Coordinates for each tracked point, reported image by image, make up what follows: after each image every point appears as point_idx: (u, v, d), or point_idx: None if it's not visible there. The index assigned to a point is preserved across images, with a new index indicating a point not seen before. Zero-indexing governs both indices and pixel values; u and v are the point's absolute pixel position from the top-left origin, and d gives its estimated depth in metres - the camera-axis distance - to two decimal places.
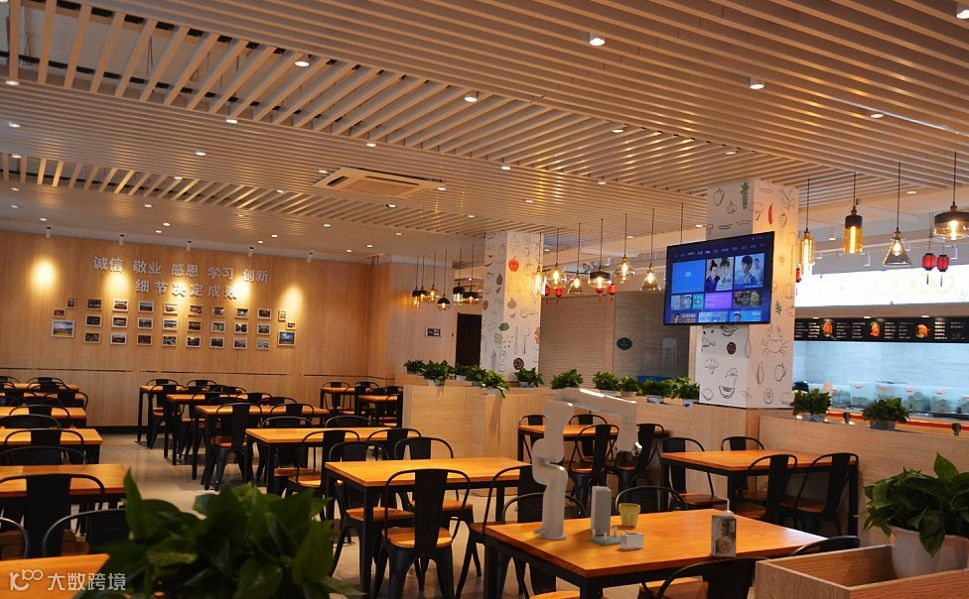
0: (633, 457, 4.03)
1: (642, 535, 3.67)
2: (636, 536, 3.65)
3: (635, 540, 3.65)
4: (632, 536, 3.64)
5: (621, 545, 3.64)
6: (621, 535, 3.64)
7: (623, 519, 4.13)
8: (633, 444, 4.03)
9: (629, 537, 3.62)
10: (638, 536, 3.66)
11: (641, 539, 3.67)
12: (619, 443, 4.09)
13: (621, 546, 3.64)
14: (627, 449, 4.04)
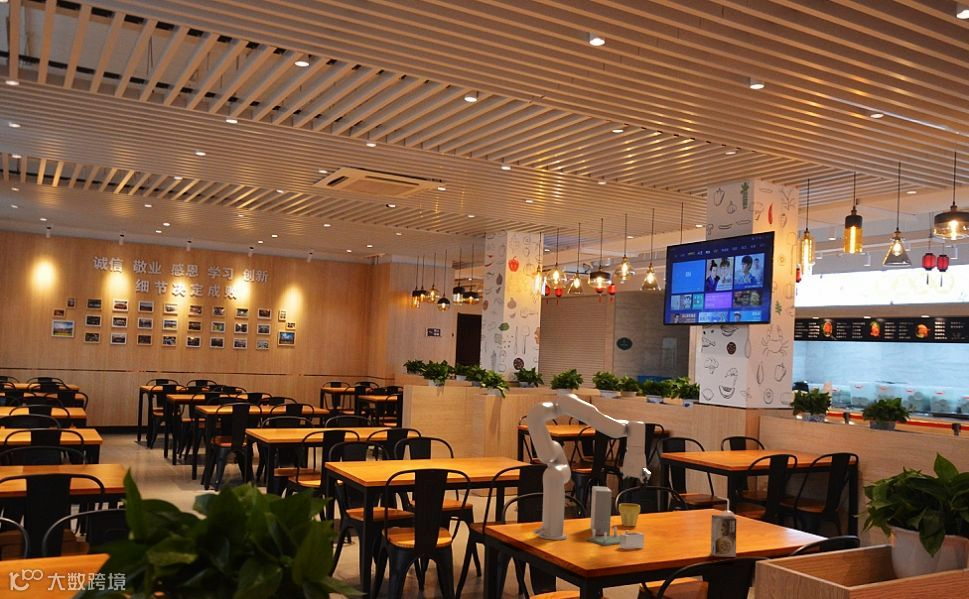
0: (641, 484, 3.63)
1: (642, 535, 3.67)
2: (636, 536, 3.65)
3: (635, 540, 3.65)
4: (632, 536, 3.64)
5: (621, 545, 3.64)
6: (621, 535, 3.65)
7: (623, 519, 4.13)
8: (641, 470, 3.63)
9: (628, 537, 3.63)
10: (638, 536, 3.65)
11: (642, 540, 3.66)
12: (625, 468, 3.69)
13: (621, 546, 3.64)
14: (634, 475, 3.64)
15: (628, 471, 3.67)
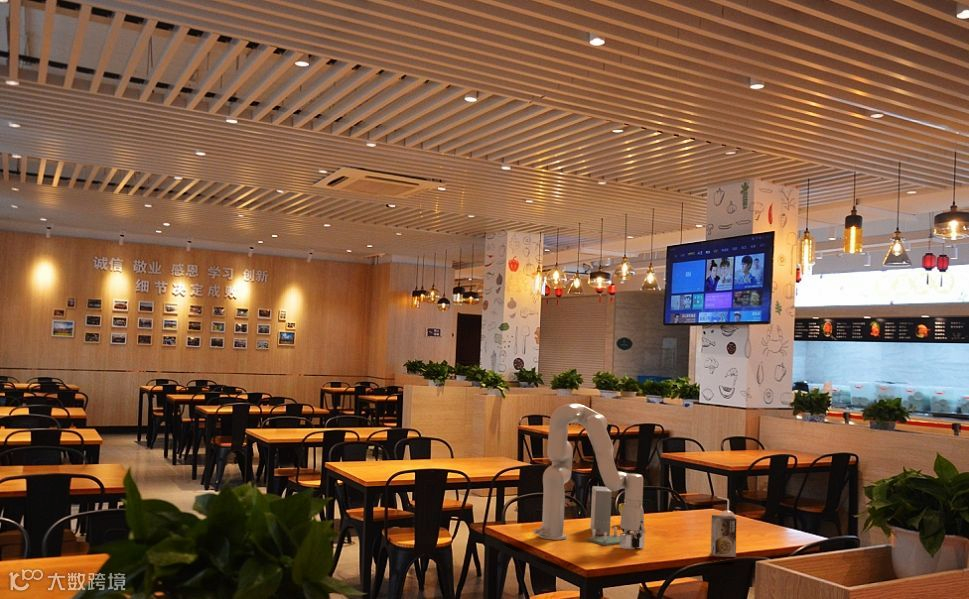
0: (634, 540, 3.63)
1: (643, 535, 3.67)
2: None
3: None
4: (632, 536, 3.64)
5: (621, 544, 3.64)
6: (621, 534, 3.65)
7: None
8: (639, 524, 3.62)
9: (628, 537, 3.63)
10: None
11: (642, 539, 3.66)
12: (623, 521, 3.67)
13: (621, 545, 3.64)
14: (632, 529, 3.63)
15: (626, 524, 3.66)
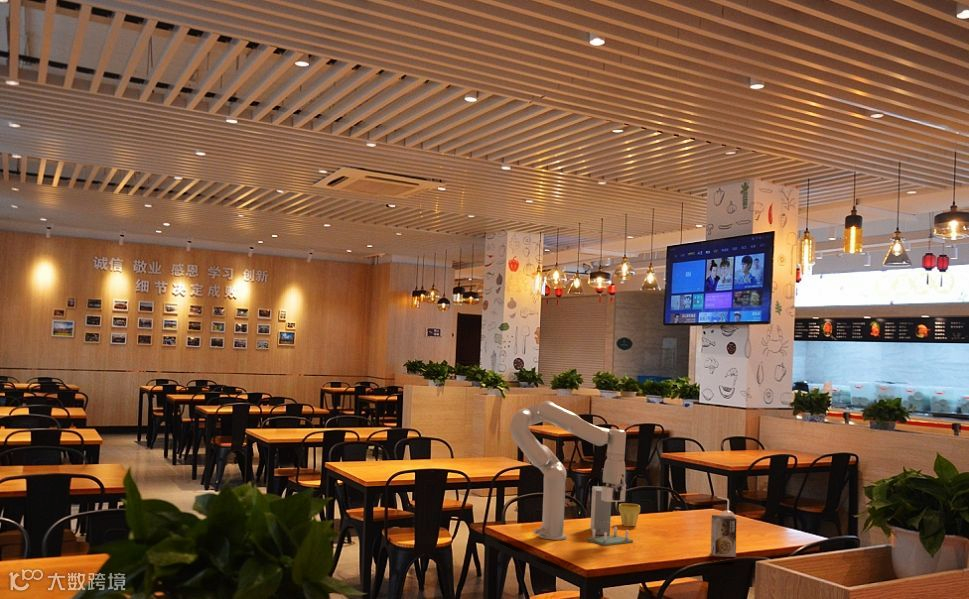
0: (615, 493, 3.74)
1: (624, 489, 3.77)
2: None
3: None
4: (613, 489, 3.74)
5: (602, 497, 3.75)
6: (602, 487, 3.76)
7: (623, 519, 4.13)
8: (620, 477, 3.72)
9: (609, 489, 3.73)
10: None
11: (623, 493, 3.77)
12: (605, 475, 3.78)
13: (602, 498, 3.75)
14: (613, 482, 3.73)
15: (607, 478, 3.76)
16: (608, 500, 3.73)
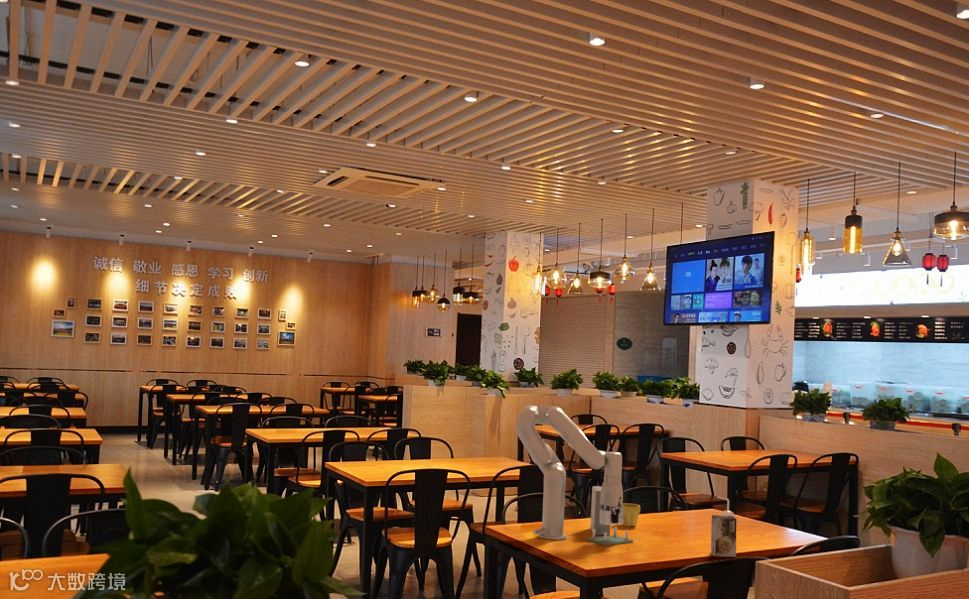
0: (614, 515, 3.74)
1: (622, 511, 3.78)
2: None
3: None
4: (611, 511, 3.75)
5: (600, 520, 3.75)
6: (600, 510, 3.76)
7: (623, 519, 4.13)
8: (617, 500, 3.73)
9: (608, 512, 3.74)
10: None
11: (621, 515, 3.77)
12: (602, 498, 3.78)
13: (600, 521, 3.75)
14: (611, 505, 3.74)
15: (605, 501, 3.77)
16: (606, 523, 3.73)
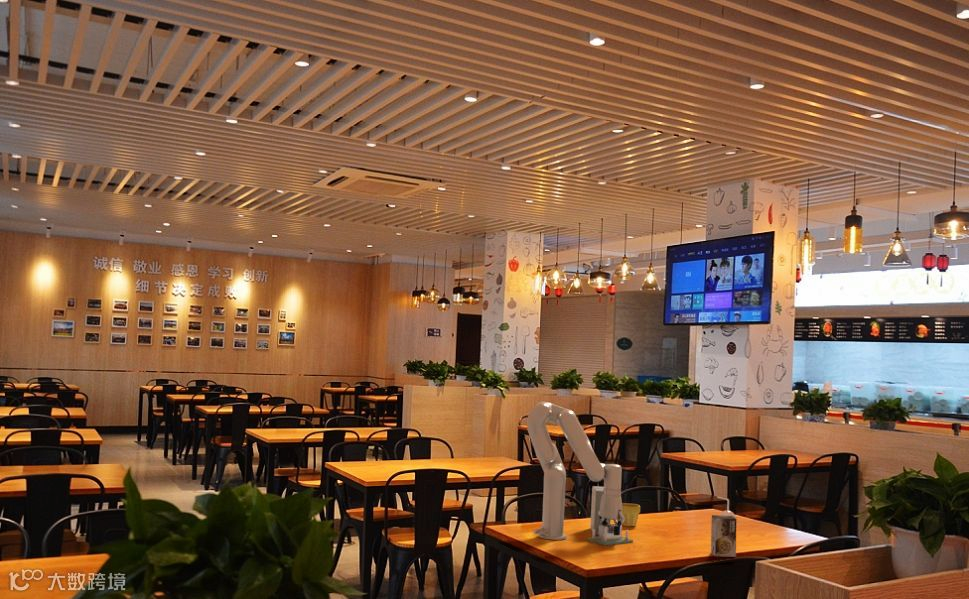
0: (615, 527, 3.73)
1: (620, 526, 3.78)
2: None
3: None
4: (610, 527, 3.74)
5: (599, 536, 3.75)
6: (599, 526, 3.75)
7: None
8: (617, 512, 3.72)
9: (607, 528, 3.73)
10: None
11: (620, 531, 3.77)
12: (602, 510, 3.78)
13: (599, 537, 3.75)
14: (610, 517, 3.73)
15: (604, 513, 3.76)
16: None
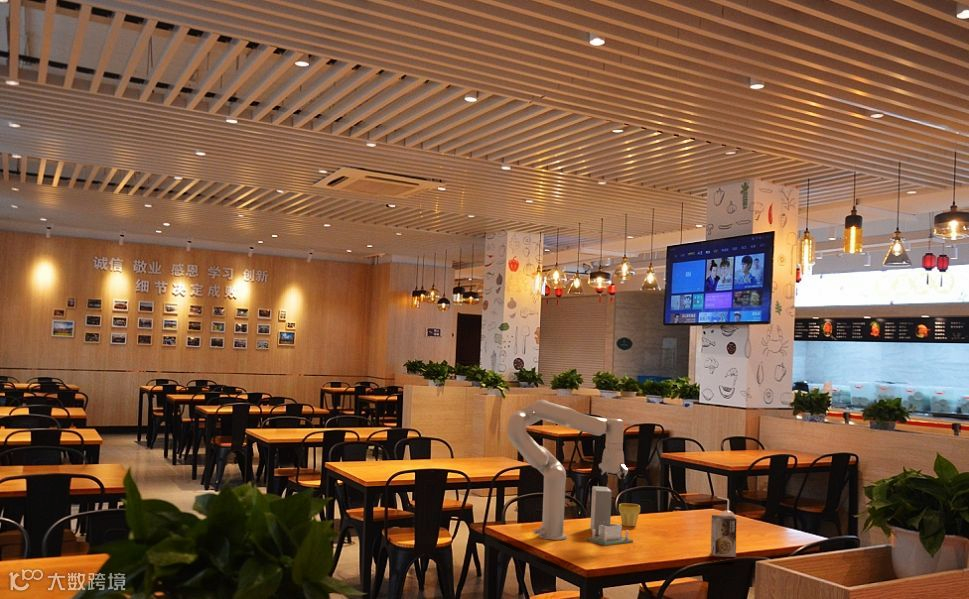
0: (619, 480, 3.73)
1: (620, 526, 3.78)
2: (614, 527, 3.76)
3: (614, 531, 3.75)
4: (610, 527, 3.74)
5: (599, 536, 3.75)
6: (599, 526, 3.75)
7: (623, 519, 4.13)
8: (619, 466, 3.74)
9: (607, 528, 3.73)
10: (616, 527, 3.76)
11: (620, 531, 3.77)
12: (604, 464, 3.79)
13: (599, 537, 3.75)
14: (612, 471, 3.75)
15: (606, 467, 3.78)
16: None
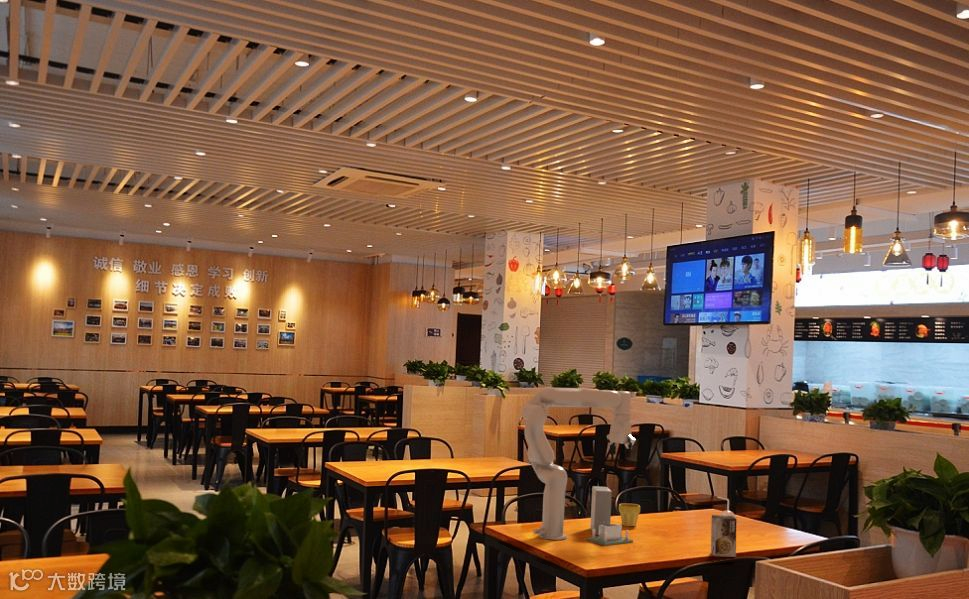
0: (626, 450, 3.86)
1: (620, 526, 3.78)
2: (614, 527, 3.76)
3: (614, 531, 3.75)
4: (610, 527, 3.74)
5: (599, 536, 3.75)
6: (599, 526, 3.75)
7: (623, 519, 4.13)
8: (626, 436, 3.86)
9: (607, 528, 3.73)
10: (616, 527, 3.76)
11: (620, 531, 3.77)
12: (612, 435, 3.92)
13: (599, 537, 3.75)
14: (620, 441, 3.87)
15: (614, 438, 3.91)
16: None
